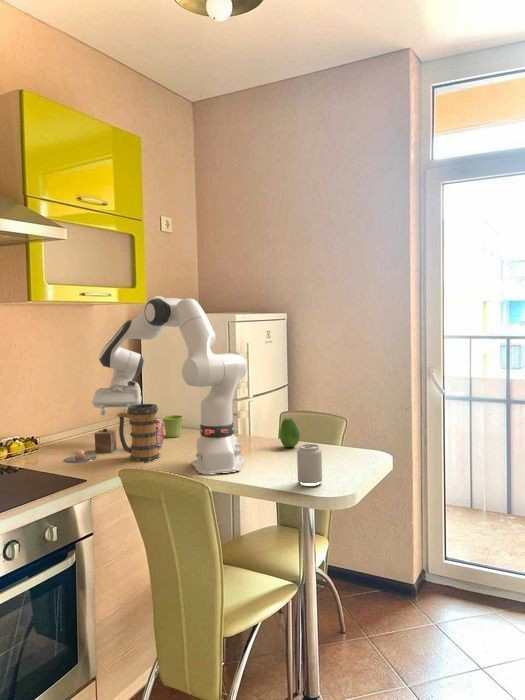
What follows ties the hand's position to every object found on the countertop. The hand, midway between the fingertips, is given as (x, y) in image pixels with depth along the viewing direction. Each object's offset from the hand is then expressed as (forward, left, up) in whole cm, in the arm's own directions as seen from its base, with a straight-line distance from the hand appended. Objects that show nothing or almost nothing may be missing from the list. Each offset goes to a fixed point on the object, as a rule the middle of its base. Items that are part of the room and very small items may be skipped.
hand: (113, 414), depth 231 cm
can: (-70, -69, -14) cm, 99 cm away
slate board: (-21, +10, -13) cm, 27 cm away
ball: (-21, +10, -13) cm, 27 cm away
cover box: (-11, +2, -13) cm, 17 cm away
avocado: (-21, -71, -14) cm, 75 cm away
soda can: (-8, -17, -14) cm, 23 cm away
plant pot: (+13, -24, -14) cm, 30 cm away
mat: (-11, +2, -13) cm, 17 cm away
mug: (-25, -13, -14) cm, 31 cm away
